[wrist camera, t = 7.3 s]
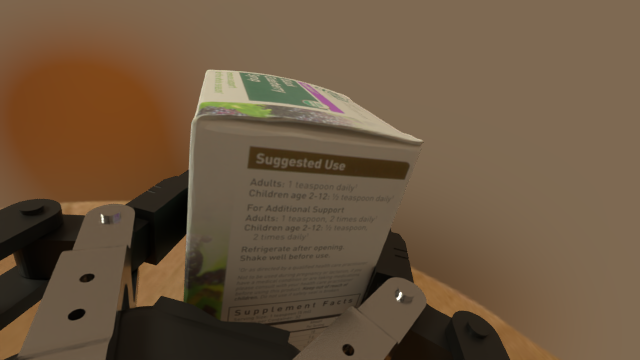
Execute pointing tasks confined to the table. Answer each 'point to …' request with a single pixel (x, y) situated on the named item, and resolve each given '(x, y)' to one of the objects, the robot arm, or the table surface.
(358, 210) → the syrup box
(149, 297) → the table surface
